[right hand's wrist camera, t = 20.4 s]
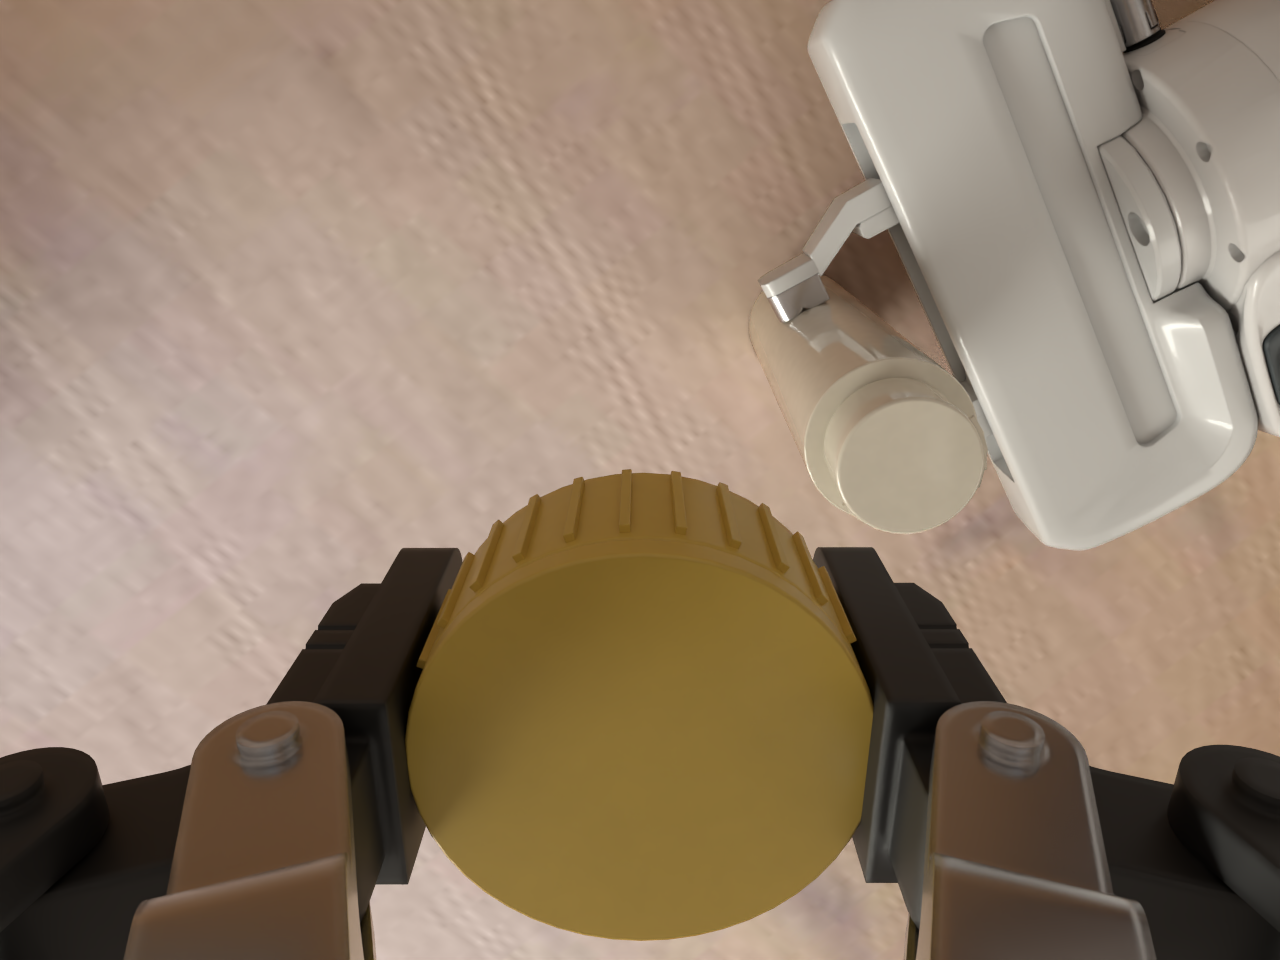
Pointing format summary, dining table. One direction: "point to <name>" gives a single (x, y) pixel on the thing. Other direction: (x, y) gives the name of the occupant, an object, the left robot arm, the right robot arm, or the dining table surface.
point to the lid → (640, 711)
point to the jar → (871, 413)
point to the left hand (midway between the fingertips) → (805, 375)
